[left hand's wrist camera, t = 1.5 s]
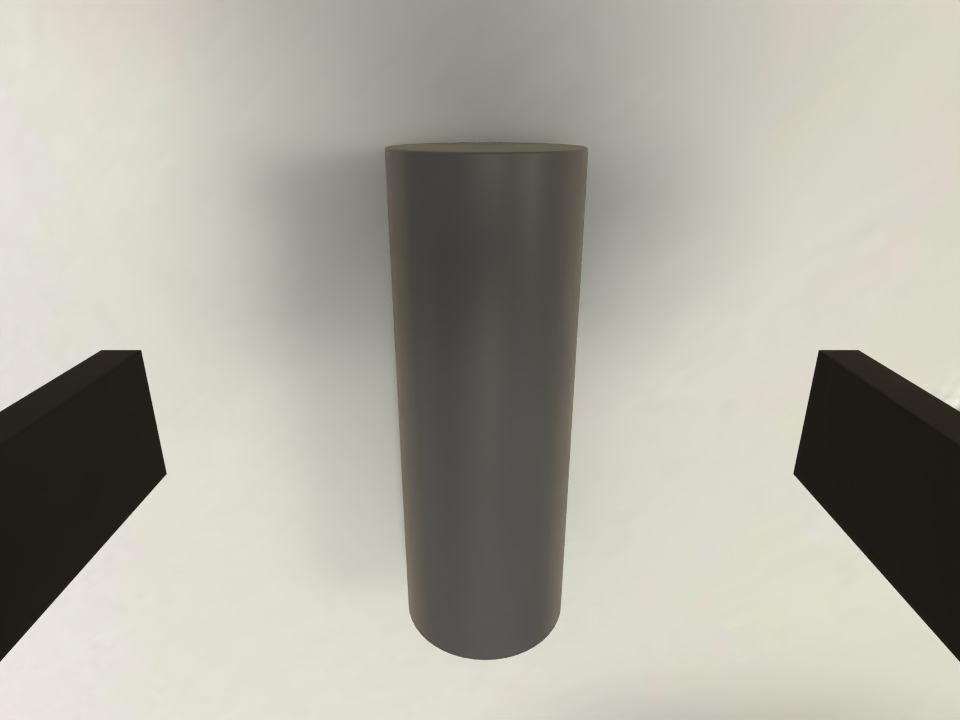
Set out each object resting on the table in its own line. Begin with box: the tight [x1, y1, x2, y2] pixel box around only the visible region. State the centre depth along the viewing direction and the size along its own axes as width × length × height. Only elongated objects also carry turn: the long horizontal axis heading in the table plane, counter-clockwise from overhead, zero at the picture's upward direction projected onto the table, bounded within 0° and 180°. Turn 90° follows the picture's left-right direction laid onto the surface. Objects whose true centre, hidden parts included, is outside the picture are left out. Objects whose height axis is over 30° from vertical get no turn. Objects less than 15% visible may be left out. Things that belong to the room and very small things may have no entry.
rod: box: [385, 143, 588, 660], centre depth 29 cm, size 22×8×8 cm, turn 0°
